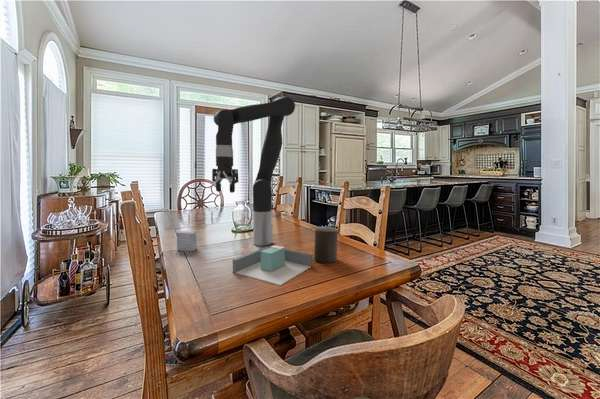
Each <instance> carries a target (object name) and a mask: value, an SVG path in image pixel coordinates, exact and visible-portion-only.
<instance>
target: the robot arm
mask: <svg viewBox="0 0 600 399" xmlns="http://www.w3.org/2000/svg"><path fill="white" fill-rule="evenodd" d="M295 109H296V102H295V101H294V100H293V98H291V97H289V96H279V97H276V98H275V99H273V101H271V102H270V101H269V102H265V103H257V104H249V105H243V106H238V107H234V108H233V109H228V108H222V109H220V110H219V111H217V112H215V114H213V122H214V124H215V125H216V126H217V132H216V134H215V166H216V167H217V168H212V169H211V170H212V171H211V182H213V183H215V191H216V192H222V181H223V180H225V179H226V181H228V183H229V193H231V194H232V193H235V191H236V183H237V184H238V183H239V170H238V168H237V169H236V168H233V167H234V150H233V132H234V125H237V124H244V123H247V122H252V121H253V122H254V121H256V120H260V119H264V118H265V119H266V118H268V117H269V120H268V125H267V129H266V133H265V137H264V140H263V143H262V144H263V145H262V148H261V152H260V154H261V155H260V160H259V168H258V172H257V175H256V177H255V180H254V182H253V186H252V217H253V222H252V225H253V229H252V230H253V236H252V238H253V245H255V246H259V247H262V246H263V247H266V246H271V244H272V243H273V224H272V200H273V199H272V198H273V197H272V196H273V195H272V194H273V193H272V191H273V190H272V185H271V184H272V179H273V175H274V174H273V173H274V170H275V167H276V165H277V163H278V161H279V158H280V155H281V150H282V147H283V134H282V126H283V122H284V118H285V117H288V116H290V115H292V114H294V112H295Z"/></svg>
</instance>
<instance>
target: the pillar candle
mask: <svg viewBox="0 0 600 399" xmlns="http://www.w3.org/2000/svg"><path fill="white" fill-rule="evenodd" d="M338 235H339V230H338V228H336V227H331V226H317V227H315V228H314V253H313V255H314V256H313V260H314V261H315V260H316V261H318V262H317V263H319V262H321V264H324V263H329V264H332V263H331V262H335V261H336V260H337V261H338ZM316 261H315V262H316ZM337 261H336V262H337ZM336 262H335V263H336Z"/></svg>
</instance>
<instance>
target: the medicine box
mask: <svg viewBox="0 0 600 399" xmlns="http://www.w3.org/2000/svg"><path fill="white" fill-rule="evenodd" d="M175 234H176V249H177V251H178V252H194V251H196V250H197V249H198V241H197V240H198V239H197V238H198V237H197V231H192V230H190V231H189V230H187V231H186V230H180V231H178V232H177V233H175Z"/></svg>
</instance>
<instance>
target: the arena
mask: <svg viewBox="0 0 600 399" xmlns="http://www.w3.org/2000/svg"><path fill="white" fill-rule="evenodd" d="M270 247H271V245H266V246H263V247H261V248H259V249H257V250H254V251H251V252H249V253H246V254H244V255H241V256H239V257H238V256H237V257H235V258H233V259H232V273H234V274H238V275H241V276H245V277H248V278H251V279H256V280H259V281H261V282H266V283H268V284H269V283H270V284H272V285H277V286H280V287H281V286H282V285H284V284H286V283H288V282H290V281H291V280H292V279H294V278H295V277H298V276H299V275H301V274H302V273H304V272H305V270H306V271H307V270H309V269H310V268H312V267H313V260H314V256H313V255H314V253H313V254H312V253H307V252H303V251H298V250H292V249H288V248H285V265H283V266H281V267H279V268H277V269H275V270H273V271H267V270H263V269H261V251H263V250H265V249H268V248H270ZM311 266H312V267H311ZM308 268H309V269H308Z"/></svg>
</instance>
